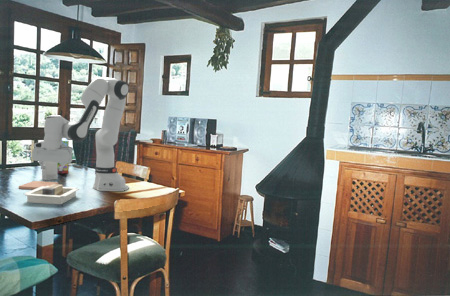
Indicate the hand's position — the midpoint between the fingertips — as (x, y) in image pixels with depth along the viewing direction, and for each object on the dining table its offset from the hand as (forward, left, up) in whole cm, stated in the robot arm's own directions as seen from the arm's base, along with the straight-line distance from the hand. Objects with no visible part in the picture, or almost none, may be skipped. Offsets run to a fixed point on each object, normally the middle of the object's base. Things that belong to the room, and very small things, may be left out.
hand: (51, 169), depth 173 cm
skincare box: (+26, -48, -17) cm, 57 cm away
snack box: (+33, -79, -17) cm, 87 cm away
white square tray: (0, -1, -17) cm, 17 cm away
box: (0, -1, -17) cm, 17 cm away
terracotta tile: (+21, -26, -17) cm, 37 cm away
